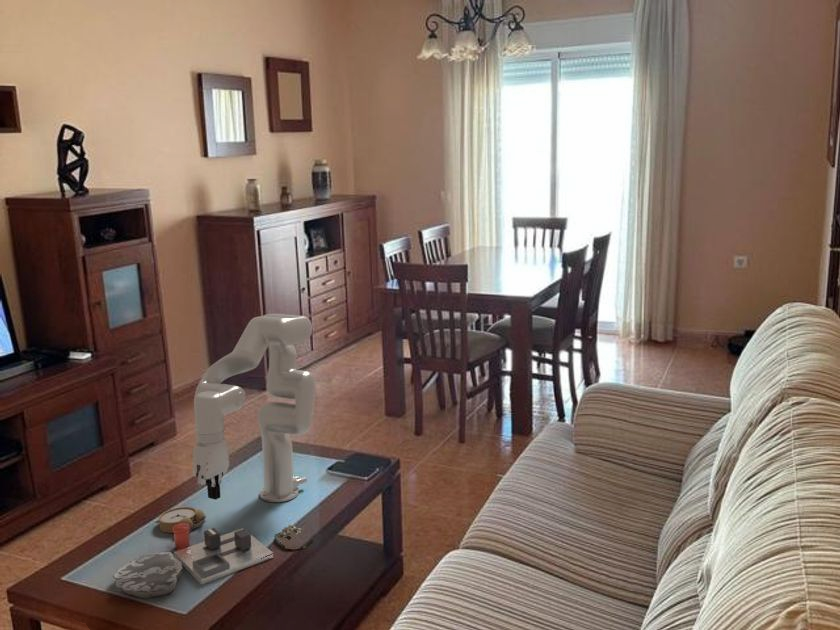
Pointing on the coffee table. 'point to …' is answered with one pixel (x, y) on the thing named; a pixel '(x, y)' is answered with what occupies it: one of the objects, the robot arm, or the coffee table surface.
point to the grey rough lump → (289, 531)
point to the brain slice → (149, 575)
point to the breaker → (242, 539)
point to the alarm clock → (181, 518)
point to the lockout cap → (181, 536)
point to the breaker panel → (221, 558)
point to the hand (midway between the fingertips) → (214, 497)
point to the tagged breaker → (212, 538)
